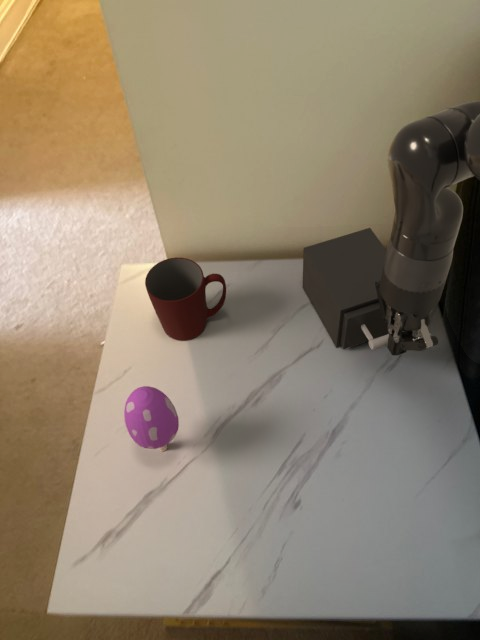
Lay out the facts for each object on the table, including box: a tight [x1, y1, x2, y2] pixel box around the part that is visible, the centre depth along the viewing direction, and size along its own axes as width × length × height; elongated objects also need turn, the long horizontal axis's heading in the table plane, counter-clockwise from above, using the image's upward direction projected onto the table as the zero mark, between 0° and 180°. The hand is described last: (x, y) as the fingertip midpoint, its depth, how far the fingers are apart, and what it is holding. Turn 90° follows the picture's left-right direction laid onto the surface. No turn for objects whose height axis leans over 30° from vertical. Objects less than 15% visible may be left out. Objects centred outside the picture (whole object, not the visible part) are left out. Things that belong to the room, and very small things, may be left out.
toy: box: [123, 385, 180, 452], centre depth 74 cm, size 7×7×15 cm
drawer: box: [340, 301, 389, 350], centre depth 87 cm, size 17×10×8 cm, turn 19°
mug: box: [144, 257, 227, 342], centre depth 89 cm, size 12×9×11 cm
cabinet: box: [301, 227, 387, 349], centre depth 89 cm, size 14×12×10 cm
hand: (395, 350), depth 81 cm, fingers closed
